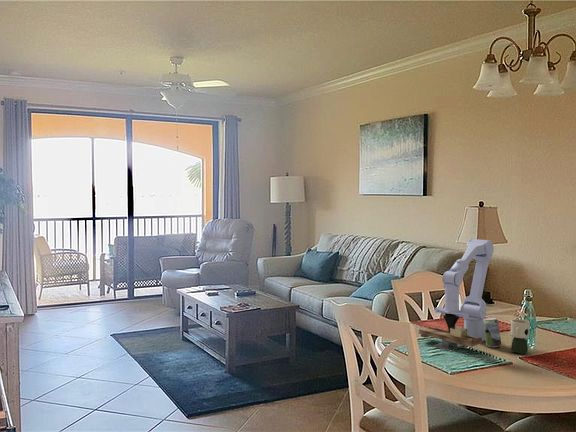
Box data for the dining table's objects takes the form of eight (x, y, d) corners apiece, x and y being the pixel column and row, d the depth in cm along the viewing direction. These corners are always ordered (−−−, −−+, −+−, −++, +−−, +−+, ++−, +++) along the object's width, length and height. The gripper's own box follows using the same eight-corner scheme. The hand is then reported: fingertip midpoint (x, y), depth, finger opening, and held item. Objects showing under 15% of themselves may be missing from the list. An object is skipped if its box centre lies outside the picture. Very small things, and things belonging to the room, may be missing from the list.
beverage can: (498, 349, 230) (499, 321, 230) (480, 346, 235) (481, 318, 234) (503, 346, 235) (504, 318, 235) (485, 343, 240) (486, 315, 239)
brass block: (467, 338, 231) (467, 328, 231) (460, 340, 228) (460, 330, 228) (456, 335, 235) (456, 326, 235) (449, 337, 232) (450, 328, 232)
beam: (482, 346, 228) (483, 336, 228) (471, 350, 223) (471, 340, 222) (430, 333, 247) (430, 324, 247) (418, 336, 241) (418, 327, 241)
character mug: (526, 357, 220) (527, 325, 219) (507, 354, 224) (507, 322, 223) (531, 350, 229) (532, 319, 228) (512, 348, 233) (513, 317, 232)
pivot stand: (466, 345, 236) (466, 338, 236) (449, 351, 228) (449, 344, 227) (449, 341, 242) (449, 334, 242) (432, 347, 234) (432, 340, 233)
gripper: (431, 298, 236) (430, 330, 237) (462, 304, 225) (461, 337, 226) (440, 296, 241) (440, 327, 242) (471, 301, 230) (470, 334, 231)
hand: (451, 332), depth 234 cm, fingers closed
